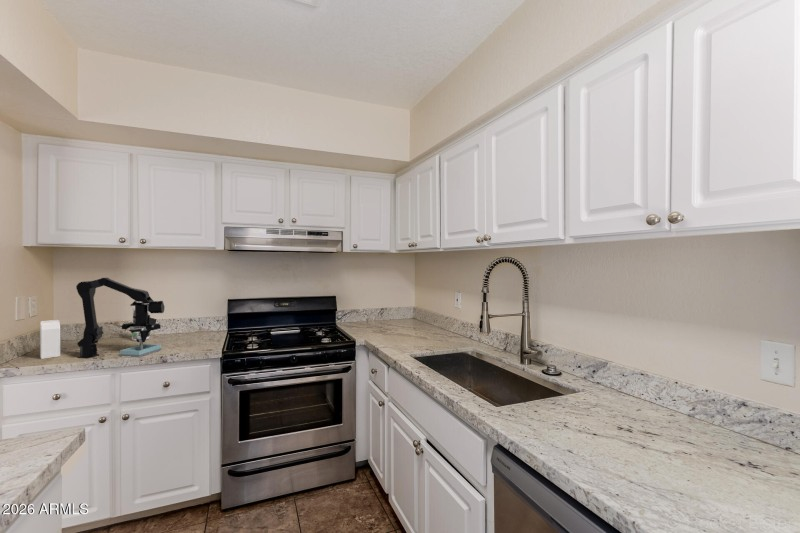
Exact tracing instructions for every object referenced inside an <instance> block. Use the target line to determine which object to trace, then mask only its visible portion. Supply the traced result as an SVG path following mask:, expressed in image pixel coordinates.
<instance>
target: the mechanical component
mask: <svg viewBox="0 0 800 533" xmlns="http://www.w3.org/2000/svg"><path fill="white" fill-rule="evenodd" d="M150 335H151V331H150V332H149V333H148V335H147V337H149V336H150ZM132 336H133V339H139V342H138V343H139V345H140V349H141V350H142V349H143V344H144V342H142V338H141V333H140V331H138V332H133V333H131V337H132ZM149 338H150V337H149Z"/></svg>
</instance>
